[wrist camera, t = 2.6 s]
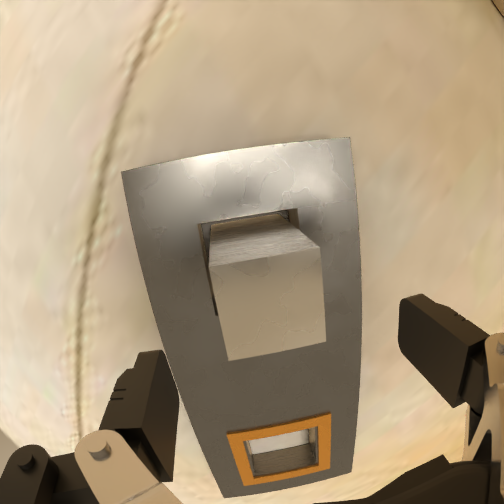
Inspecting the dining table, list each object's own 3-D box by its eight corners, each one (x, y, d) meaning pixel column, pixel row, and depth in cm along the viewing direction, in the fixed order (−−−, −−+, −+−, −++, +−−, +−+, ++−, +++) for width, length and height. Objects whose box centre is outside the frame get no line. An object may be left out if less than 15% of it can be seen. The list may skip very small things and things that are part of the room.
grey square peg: (211, 224, 19) (208, 267, 11) (278, 213, 19) (319, 247, 11) (222, 287, 20) (228, 360, 12) (286, 276, 20) (326, 341, 13)
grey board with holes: (133, 170, 17) (120, 171, 15) (333, 139, 18) (351, 136, 16) (222, 478, 25) (224, 499, 23) (343, 454, 26) (351, 473, 23)
